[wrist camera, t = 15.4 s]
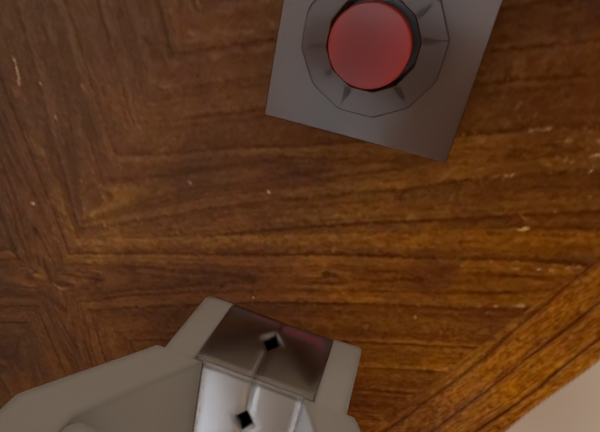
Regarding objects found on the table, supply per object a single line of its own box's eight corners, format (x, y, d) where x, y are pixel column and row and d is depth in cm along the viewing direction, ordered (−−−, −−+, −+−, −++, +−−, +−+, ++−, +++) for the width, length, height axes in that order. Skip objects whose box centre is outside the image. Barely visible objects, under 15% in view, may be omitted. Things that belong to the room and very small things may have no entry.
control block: (515, -50, 23) (529, -58, 19) (445, 151, 27) (446, 174, 24) (310, -91, 24) (287, -106, 20) (275, 106, 28) (252, 121, 25)
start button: (424, 10, 21) (423, 11, 20) (400, 91, 23) (398, 98, 21) (345, -8, 22) (337, -8, 20) (327, 73, 23) (319, 78, 22)
